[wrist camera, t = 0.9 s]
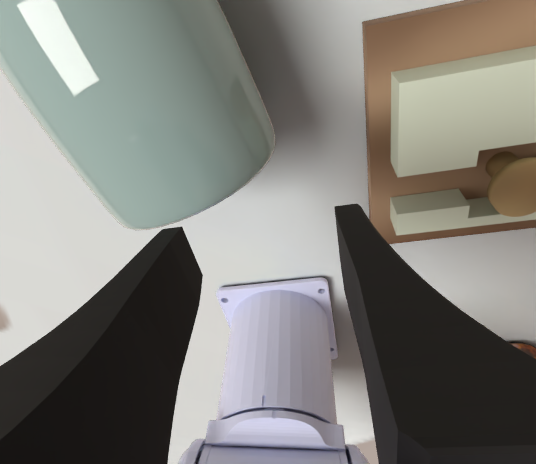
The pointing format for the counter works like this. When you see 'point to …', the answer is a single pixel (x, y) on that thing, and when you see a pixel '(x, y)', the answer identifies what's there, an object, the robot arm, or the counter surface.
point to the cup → (140, 100)
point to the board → (433, 52)
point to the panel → (458, 131)
